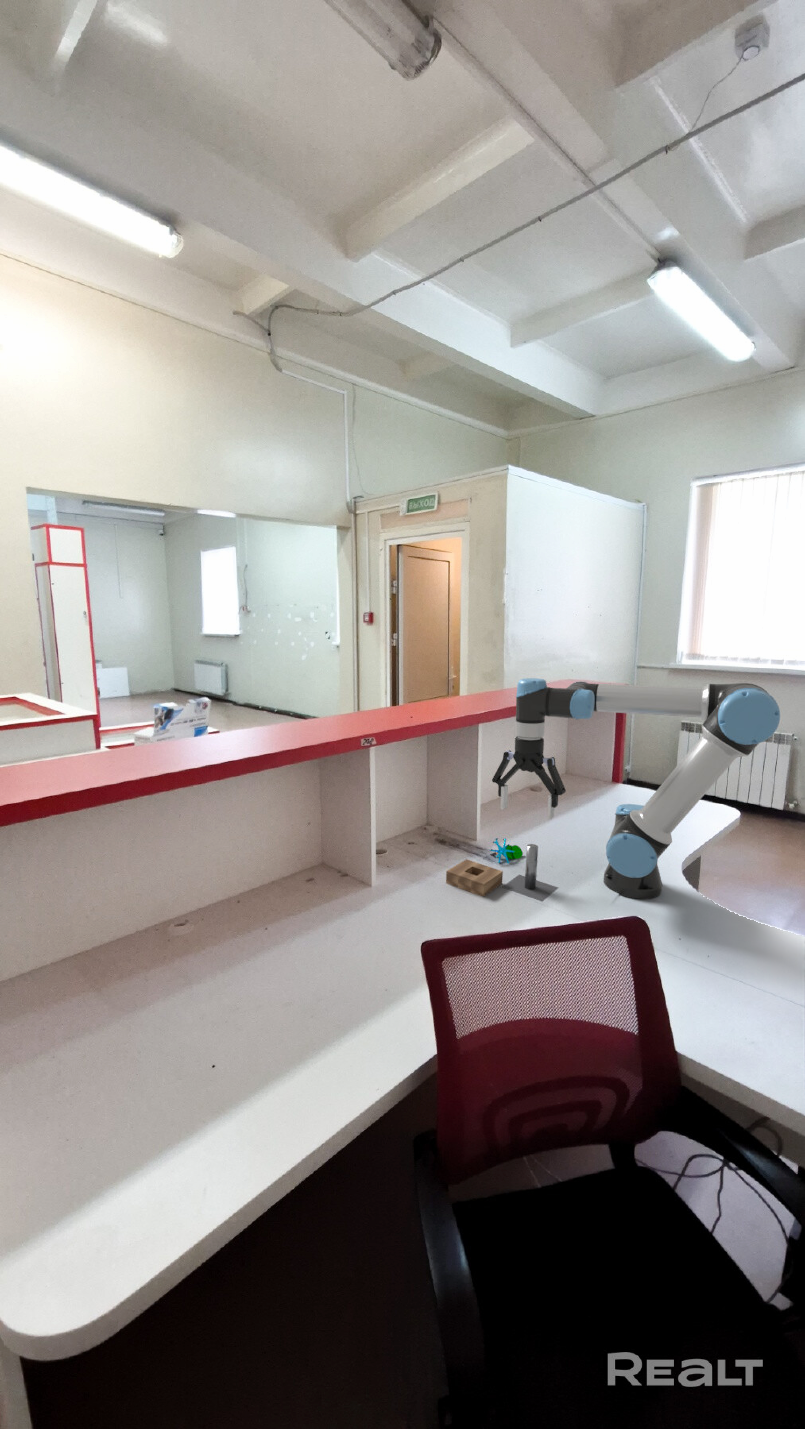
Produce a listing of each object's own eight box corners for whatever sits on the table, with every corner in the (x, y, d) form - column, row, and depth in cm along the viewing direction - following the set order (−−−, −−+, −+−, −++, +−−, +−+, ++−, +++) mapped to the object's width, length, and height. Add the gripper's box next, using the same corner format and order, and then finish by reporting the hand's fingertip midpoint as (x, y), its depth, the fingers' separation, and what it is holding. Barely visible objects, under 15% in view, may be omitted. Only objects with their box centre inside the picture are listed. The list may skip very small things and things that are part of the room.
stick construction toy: (496, 861, 172) (493, 835, 176) (481, 866, 177) (478, 841, 181) (527, 864, 178) (523, 839, 182) (511, 870, 183) (508, 845, 187)
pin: (537, 886, 161) (540, 845, 158) (532, 890, 158) (535, 849, 156) (527, 883, 162) (530, 843, 160) (522, 887, 160) (524, 846, 158)
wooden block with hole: (502, 884, 162) (502, 871, 162) (483, 898, 155) (483, 884, 154) (465, 872, 170) (466, 859, 169) (446, 884, 162) (446, 870, 162)
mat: (558, 888, 161) (558, 887, 160) (542, 902, 153) (542, 901, 153) (519, 875, 168) (519, 874, 168) (501, 888, 160) (501, 887, 160)
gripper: (580, 740, 151) (576, 818, 155) (493, 729, 165) (492, 800, 169) (570, 745, 145) (566, 827, 149) (481, 733, 159) (479, 807, 163)
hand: (526, 813), depth 159 cm, fingers open, 13 cm apart
